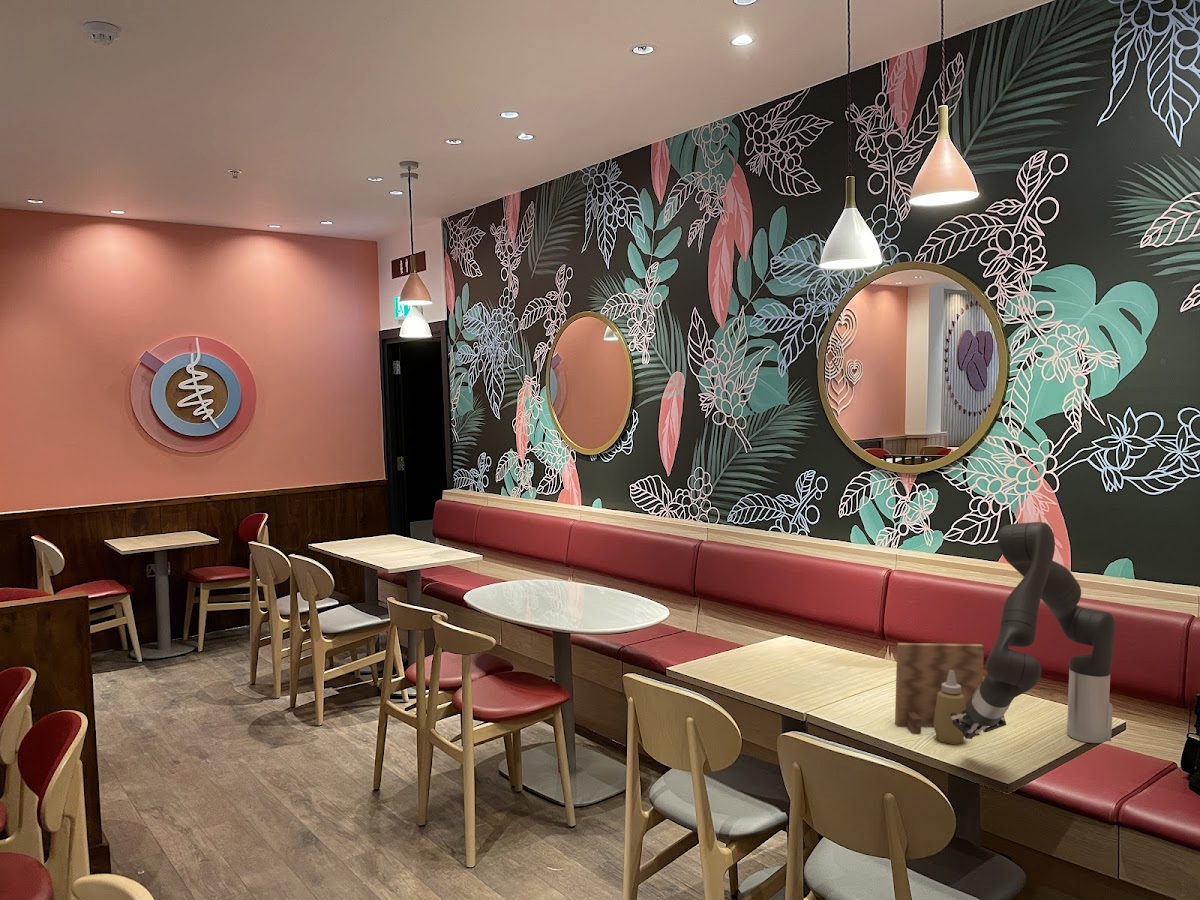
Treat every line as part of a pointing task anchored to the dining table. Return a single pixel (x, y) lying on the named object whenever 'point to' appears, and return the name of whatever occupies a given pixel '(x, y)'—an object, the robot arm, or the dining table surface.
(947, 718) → the squeeze bottle
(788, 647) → the dining table surface
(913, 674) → the walnut wall board
